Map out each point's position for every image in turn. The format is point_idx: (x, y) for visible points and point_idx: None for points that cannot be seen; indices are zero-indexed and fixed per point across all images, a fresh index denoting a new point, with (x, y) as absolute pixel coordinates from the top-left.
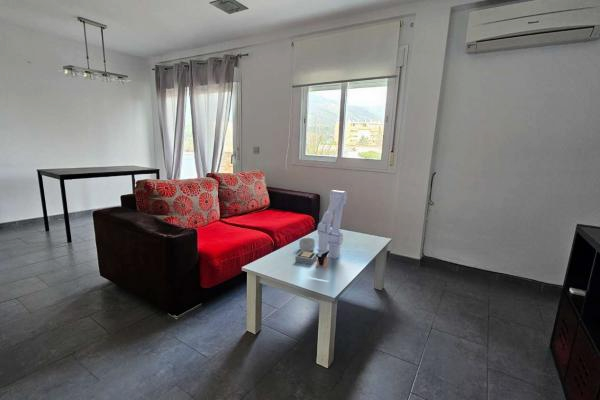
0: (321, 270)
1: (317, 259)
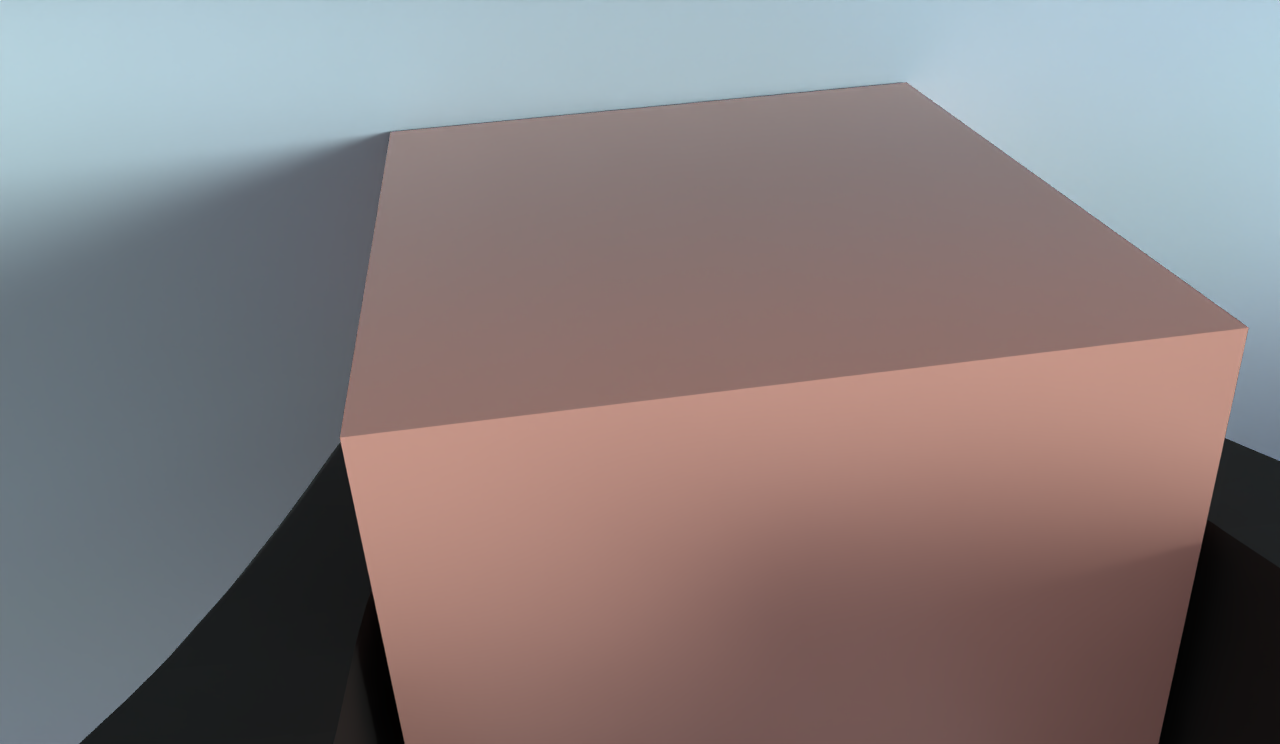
0: (44, 605)
1: (364, 474)
